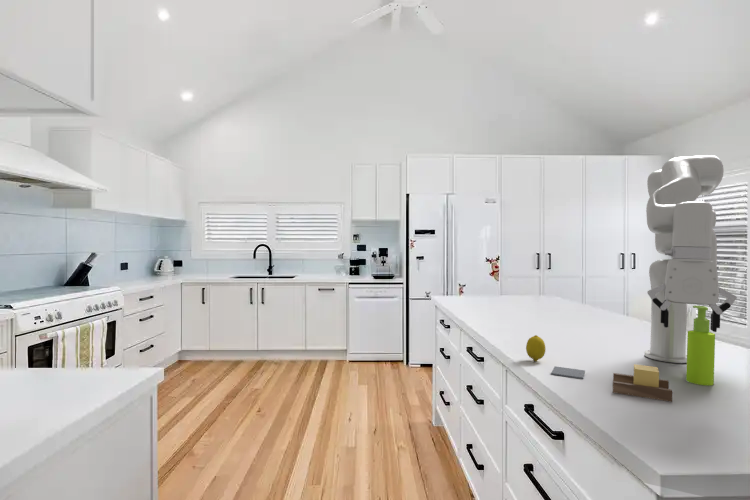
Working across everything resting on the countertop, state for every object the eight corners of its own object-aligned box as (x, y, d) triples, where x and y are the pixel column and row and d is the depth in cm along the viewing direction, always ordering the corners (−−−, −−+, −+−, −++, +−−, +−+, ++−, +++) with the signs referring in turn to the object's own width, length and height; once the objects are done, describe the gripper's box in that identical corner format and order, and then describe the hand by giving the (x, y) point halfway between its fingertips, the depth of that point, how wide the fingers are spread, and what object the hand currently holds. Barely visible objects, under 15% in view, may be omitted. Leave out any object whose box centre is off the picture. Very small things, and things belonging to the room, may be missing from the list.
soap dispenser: (707, 379, 121) (709, 305, 121) (717, 386, 115) (719, 308, 114) (681, 376, 123) (684, 303, 123) (690, 384, 116) (692, 307, 116)
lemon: (546, 364, 133) (547, 337, 133) (527, 363, 134) (527, 336, 134) (543, 359, 139) (544, 333, 139) (524, 358, 140) (525, 332, 140)
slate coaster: (554, 367, 130) (554, 366, 130) (585, 371, 126) (585, 370, 126) (551, 374, 123) (551, 373, 123) (583, 379, 119) (583, 377, 119)
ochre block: (633, 388, 113) (633, 364, 112) (656, 391, 110) (657, 367, 110) (633, 393, 108) (634, 368, 108) (658, 397, 106) (659, 372, 106)
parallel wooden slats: (613, 382, 117) (613, 372, 117) (668, 390, 111) (668, 380, 111) (612, 392, 108) (613, 382, 108) (672, 401, 103) (672, 390, 103)
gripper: (648, 254, 106) (646, 327, 106) (742, 256, 97) (739, 335, 97) (646, 253, 112) (645, 322, 112) (734, 255, 104) (732, 330, 104)
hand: (689, 328), depth 105 cm, fingers open, 8 cm apart
